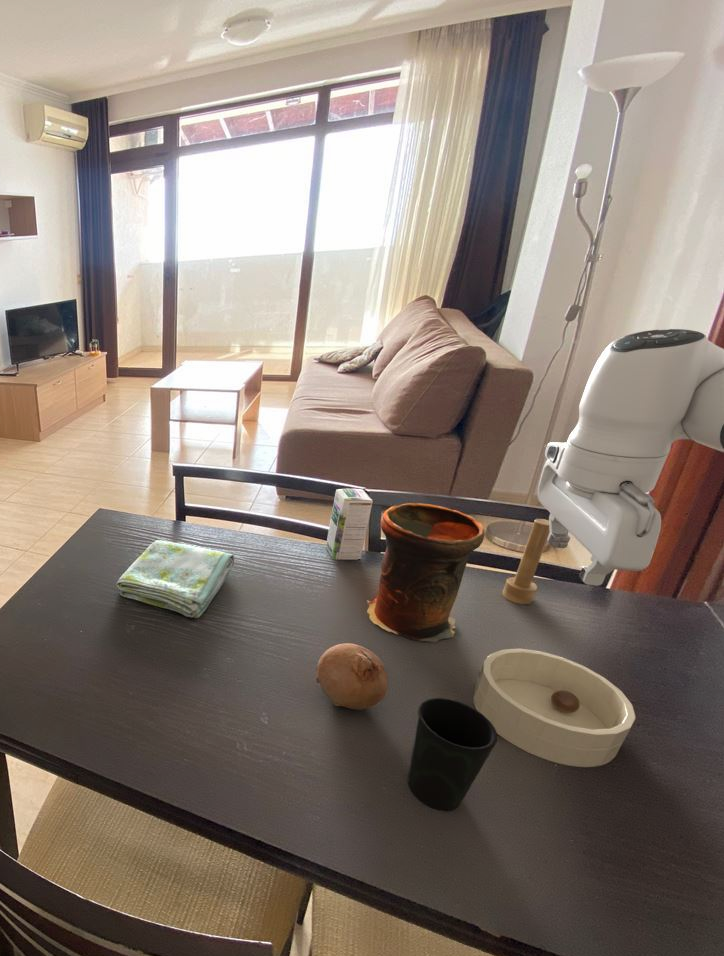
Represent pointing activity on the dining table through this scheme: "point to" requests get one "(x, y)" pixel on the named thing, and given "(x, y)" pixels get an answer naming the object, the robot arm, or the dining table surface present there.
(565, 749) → the bowl
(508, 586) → the wooden tamper
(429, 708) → the cup
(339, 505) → the syrup box
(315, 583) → the dining table surface
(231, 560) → the towel
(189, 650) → the dining table surface
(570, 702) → the bead
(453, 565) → the vessel
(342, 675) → the onion
